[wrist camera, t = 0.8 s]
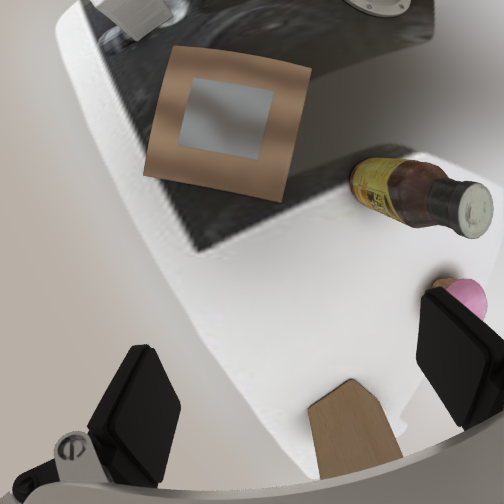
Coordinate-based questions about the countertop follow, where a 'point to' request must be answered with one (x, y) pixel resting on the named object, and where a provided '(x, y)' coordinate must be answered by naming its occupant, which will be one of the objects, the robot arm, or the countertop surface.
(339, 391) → the wooden block
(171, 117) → the walnut picture frame
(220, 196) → the countertop surface
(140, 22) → the skincare box
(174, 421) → the robot arm
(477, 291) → the cupcake
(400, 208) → the sauce bottle
